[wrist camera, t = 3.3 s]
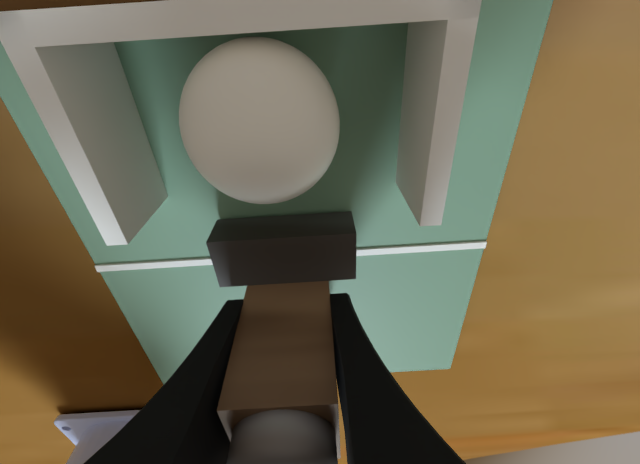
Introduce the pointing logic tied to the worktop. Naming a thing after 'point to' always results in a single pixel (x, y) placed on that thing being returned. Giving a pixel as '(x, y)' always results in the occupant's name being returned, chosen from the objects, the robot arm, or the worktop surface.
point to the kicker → (283, 334)
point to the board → (315, 186)
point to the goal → (220, 19)
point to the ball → (259, 120)
